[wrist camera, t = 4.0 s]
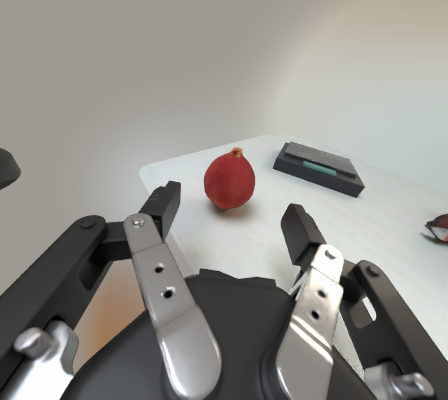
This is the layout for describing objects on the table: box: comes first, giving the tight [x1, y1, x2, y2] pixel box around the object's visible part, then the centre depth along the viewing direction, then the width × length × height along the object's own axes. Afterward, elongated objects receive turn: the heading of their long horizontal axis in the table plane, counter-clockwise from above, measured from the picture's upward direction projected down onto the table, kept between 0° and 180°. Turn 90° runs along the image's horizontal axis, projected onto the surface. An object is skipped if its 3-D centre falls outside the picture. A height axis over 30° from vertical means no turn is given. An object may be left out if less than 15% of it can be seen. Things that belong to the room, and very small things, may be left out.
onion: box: [204, 147, 255, 210], centre depth 19 cm, size 6×6×8 cm
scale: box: [273, 142, 365, 198], centre depth 37 cm, size 16×14×3 cm
